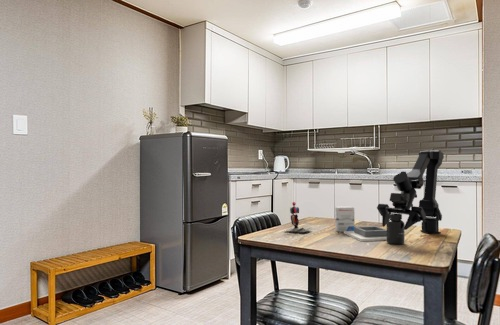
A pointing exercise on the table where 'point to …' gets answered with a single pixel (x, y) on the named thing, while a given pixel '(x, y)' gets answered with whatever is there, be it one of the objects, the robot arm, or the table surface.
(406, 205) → the robot arm
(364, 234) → the pocket plate
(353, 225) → the ink box
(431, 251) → the table surface
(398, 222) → the supplement bottle
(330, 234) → the table surface
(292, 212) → the statue
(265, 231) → the table surface
